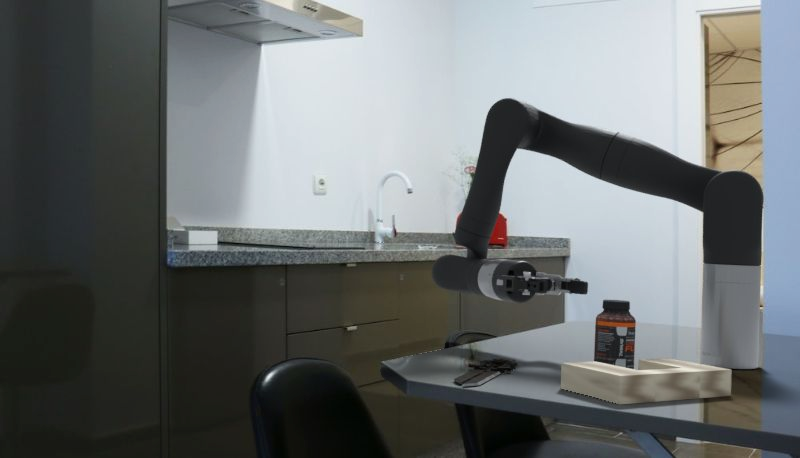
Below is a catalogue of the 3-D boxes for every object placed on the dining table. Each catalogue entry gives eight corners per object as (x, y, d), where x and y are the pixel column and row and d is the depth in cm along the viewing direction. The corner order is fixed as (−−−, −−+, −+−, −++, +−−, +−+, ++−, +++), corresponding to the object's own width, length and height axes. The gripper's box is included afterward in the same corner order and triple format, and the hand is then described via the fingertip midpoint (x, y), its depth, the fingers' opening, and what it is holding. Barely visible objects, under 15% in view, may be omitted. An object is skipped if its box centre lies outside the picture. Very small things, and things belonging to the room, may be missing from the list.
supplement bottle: (632, 379, 123) (634, 302, 123) (591, 375, 125) (593, 300, 125) (635, 373, 129) (638, 300, 129) (596, 370, 131) (598, 298, 131)
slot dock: (668, 382, 121) (668, 358, 121) (730, 395, 112) (731, 369, 112) (560, 389, 112) (561, 362, 112) (619, 404, 102) (620, 375, 102)
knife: (472, 393, 109) (472, 382, 109) (427, 387, 112) (427, 377, 112) (528, 369, 132) (529, 360, 132) (489, 365, 135) (490, 356, 135)
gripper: (476, 258, 148) (533, 263, 134) (539, 261, 155) (600, 266, 141) (473, 300, 148) (530, 310, 134) (537, 301, 155) (598, 310, 140)
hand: (566, 287), depth 137 cm, fingers open, 8 cm apart
